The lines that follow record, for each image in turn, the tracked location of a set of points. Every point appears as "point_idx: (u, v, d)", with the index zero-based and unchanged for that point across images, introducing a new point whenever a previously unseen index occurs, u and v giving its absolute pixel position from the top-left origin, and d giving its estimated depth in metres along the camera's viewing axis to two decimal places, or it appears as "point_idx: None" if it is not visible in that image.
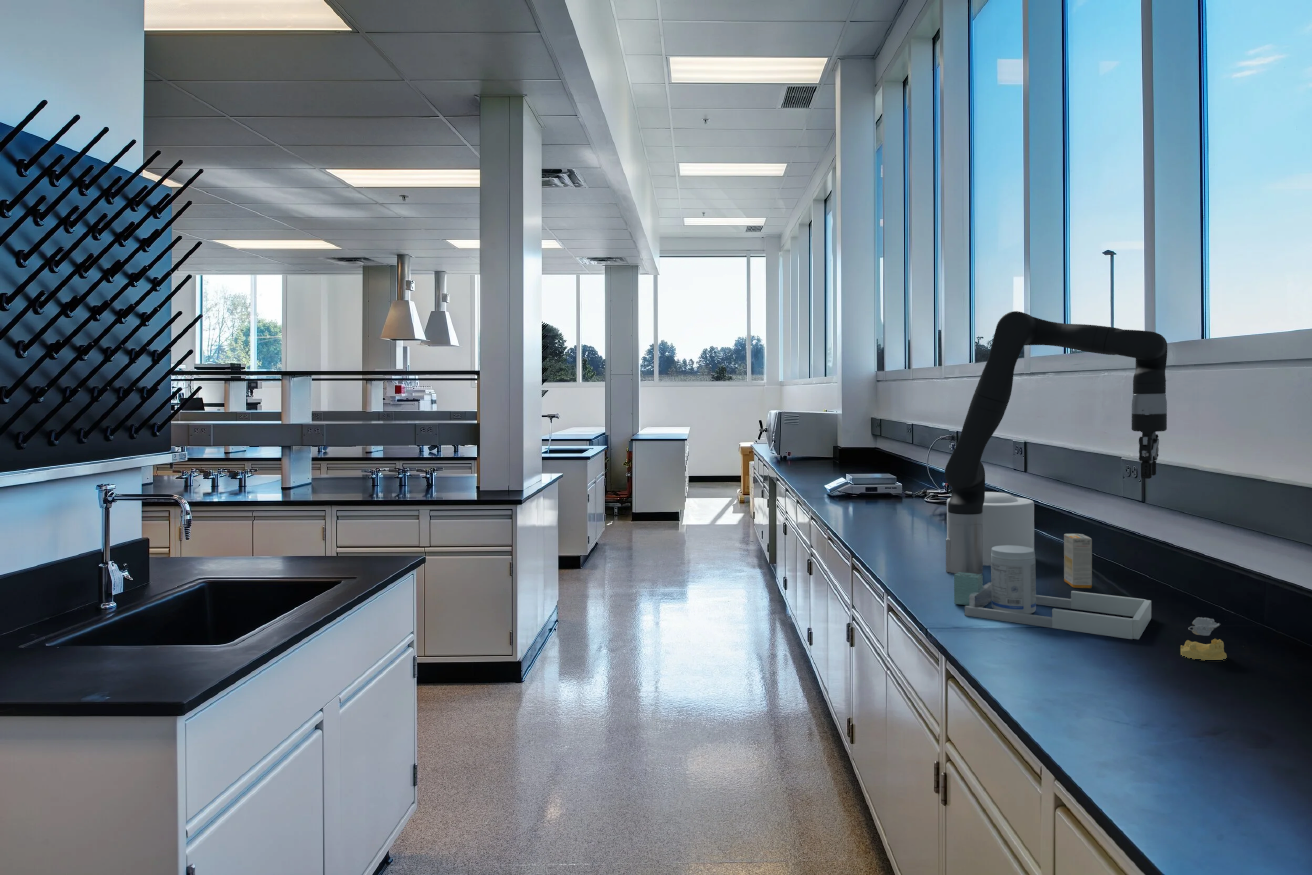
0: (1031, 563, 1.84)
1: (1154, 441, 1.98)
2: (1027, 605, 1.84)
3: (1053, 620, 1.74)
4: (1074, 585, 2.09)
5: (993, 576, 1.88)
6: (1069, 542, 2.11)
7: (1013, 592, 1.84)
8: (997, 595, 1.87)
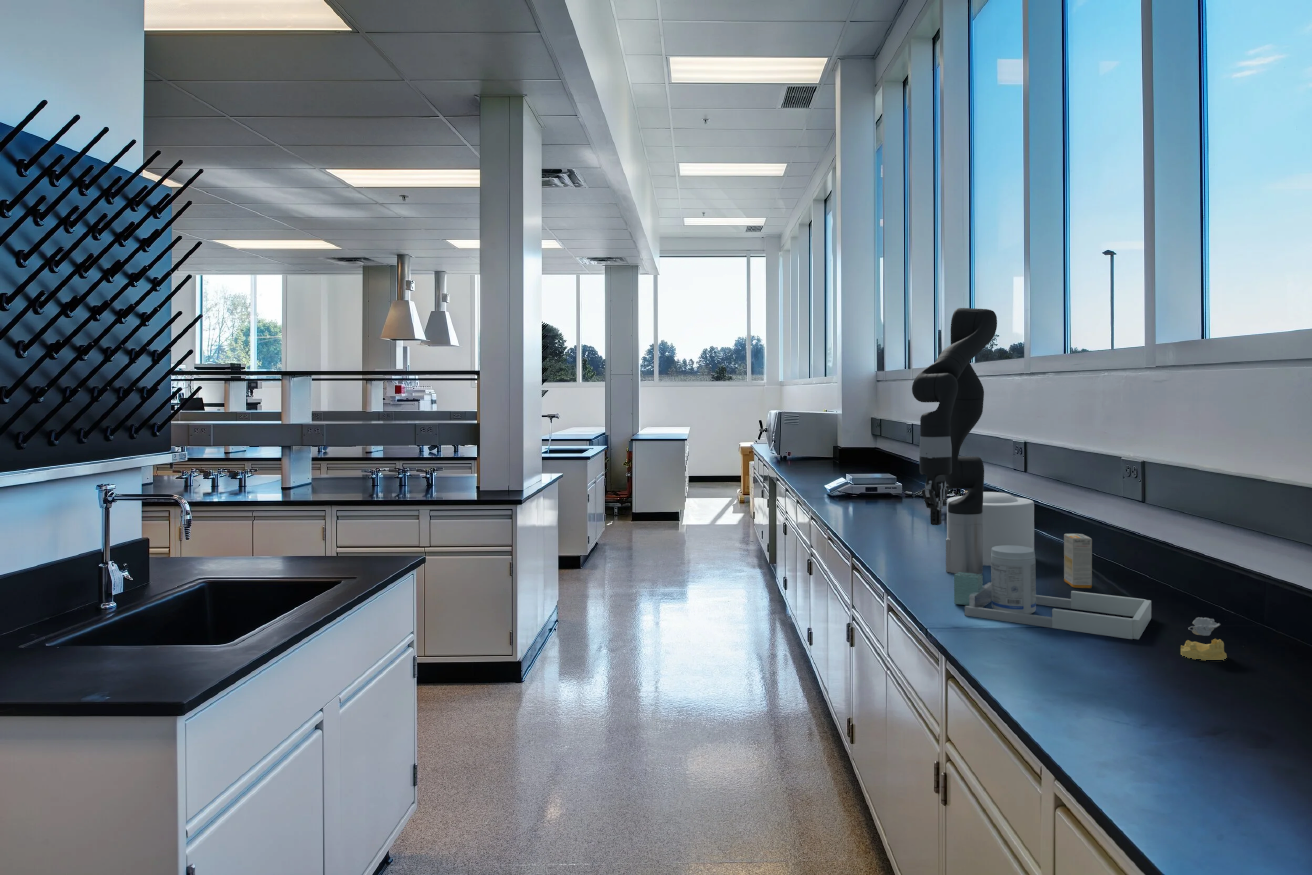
0: (1031, 563, 1.84)
1: (938, 487, 1.96)
2: (1027, 605, 1.84)
3: (1053, 620, 1.74)
4: (1074, 585, 2.09)
5: (993, 576, 1.88)
6: (1069, 542, 2.11)
7: (1013, 592, 1.84)
8: (997, 595, 1.87)
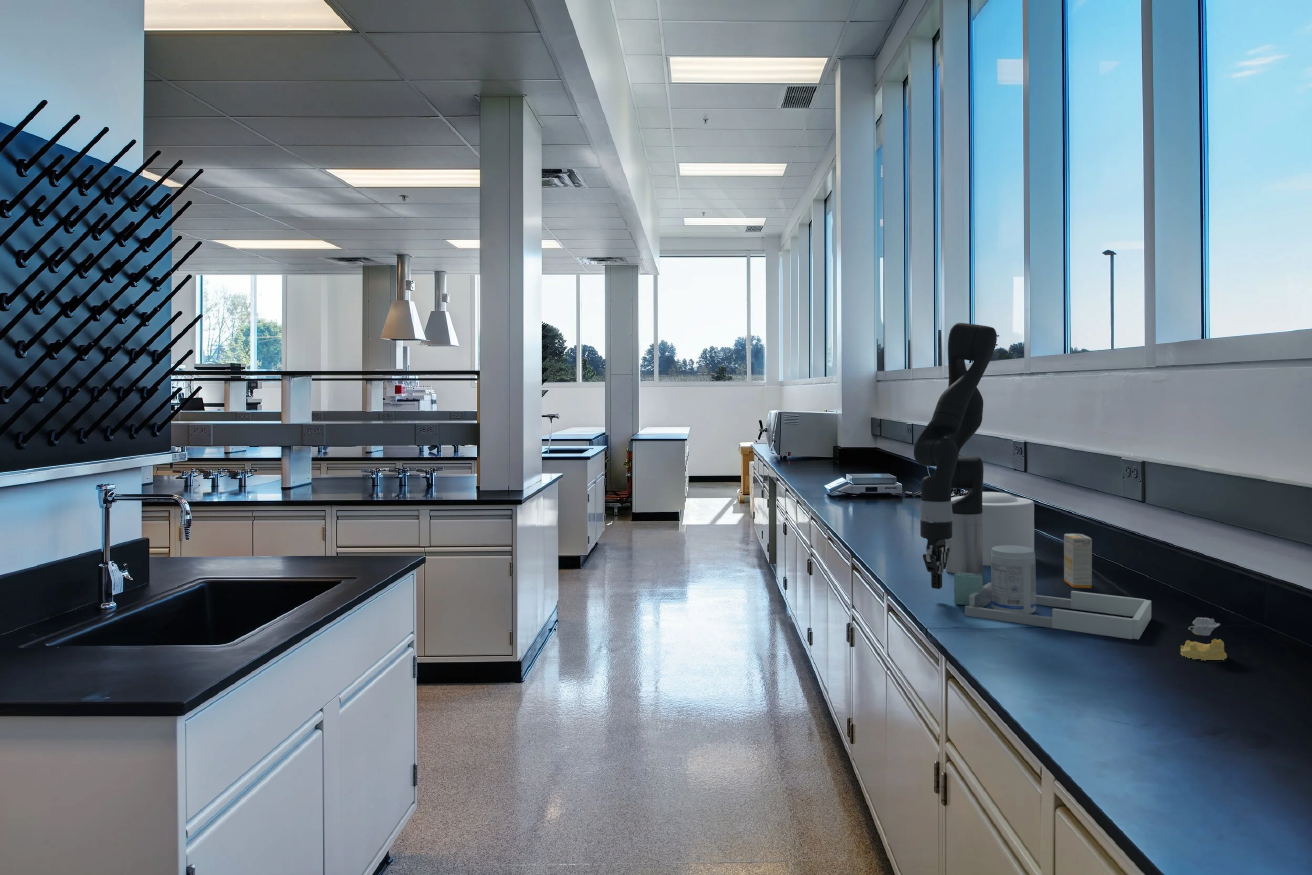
0: (1031, 563, 1.84)
1: (939, 551, 1.97)
2: (1027, 605, 1.84)
3: (1053, 620, 1.74)
4: (1074, 585, 2.09)
5: (993, 576, 1.88)
6: (1069, 542, 2.11)
7: (1013, 592, 1.84)
8: (997, 595, 1.87)
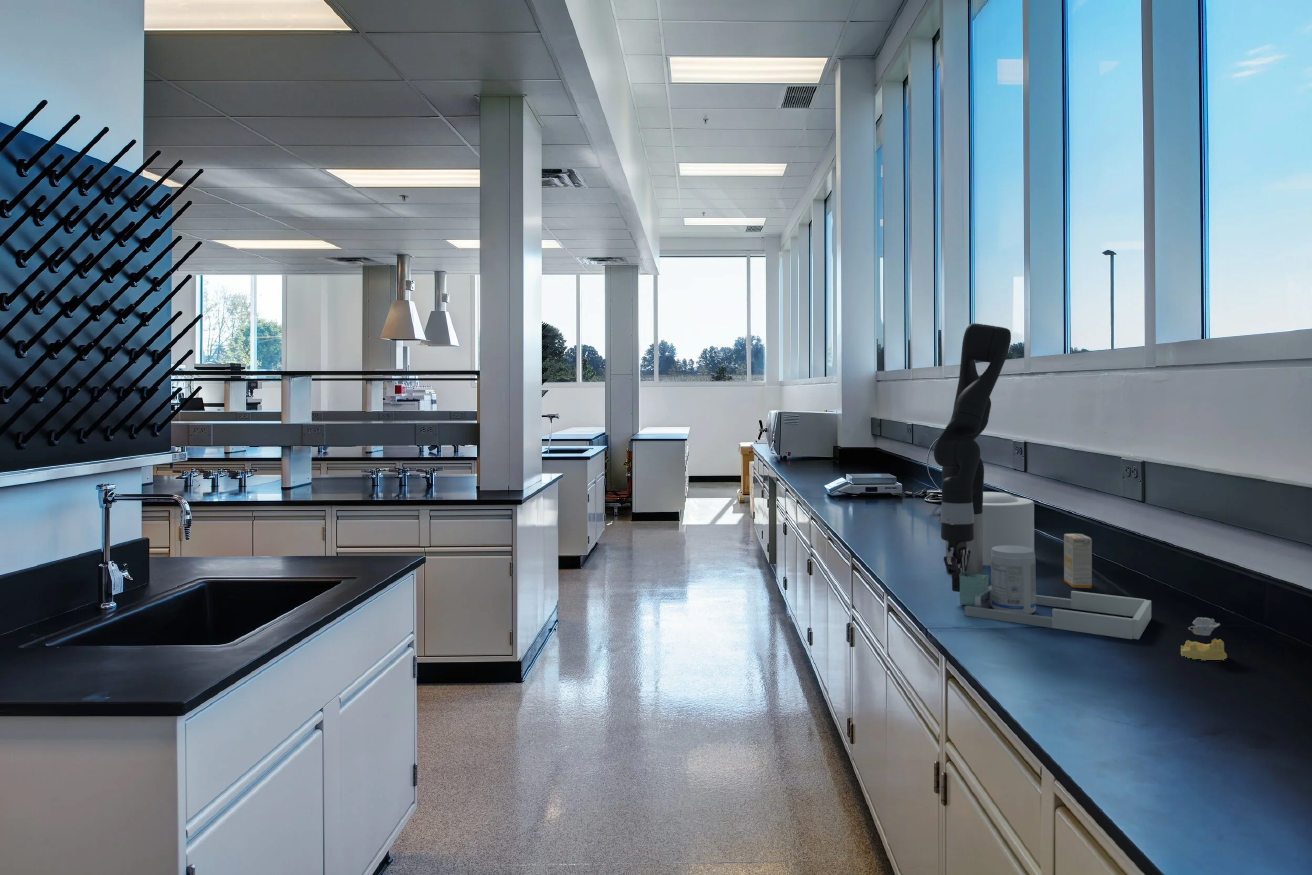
0: (1031, 563, 1.84)
1: (960, 553, 1.93)
2: (1027, 605, 1.84)
3: (1053, 620, 1.74)
4: (1074, 585, 2.09)
5: (993, 576, 1.88)
6: (1069, 542, 2.11)
7: (1013, 592, 1.84)
8: (997, 595, 1.87)
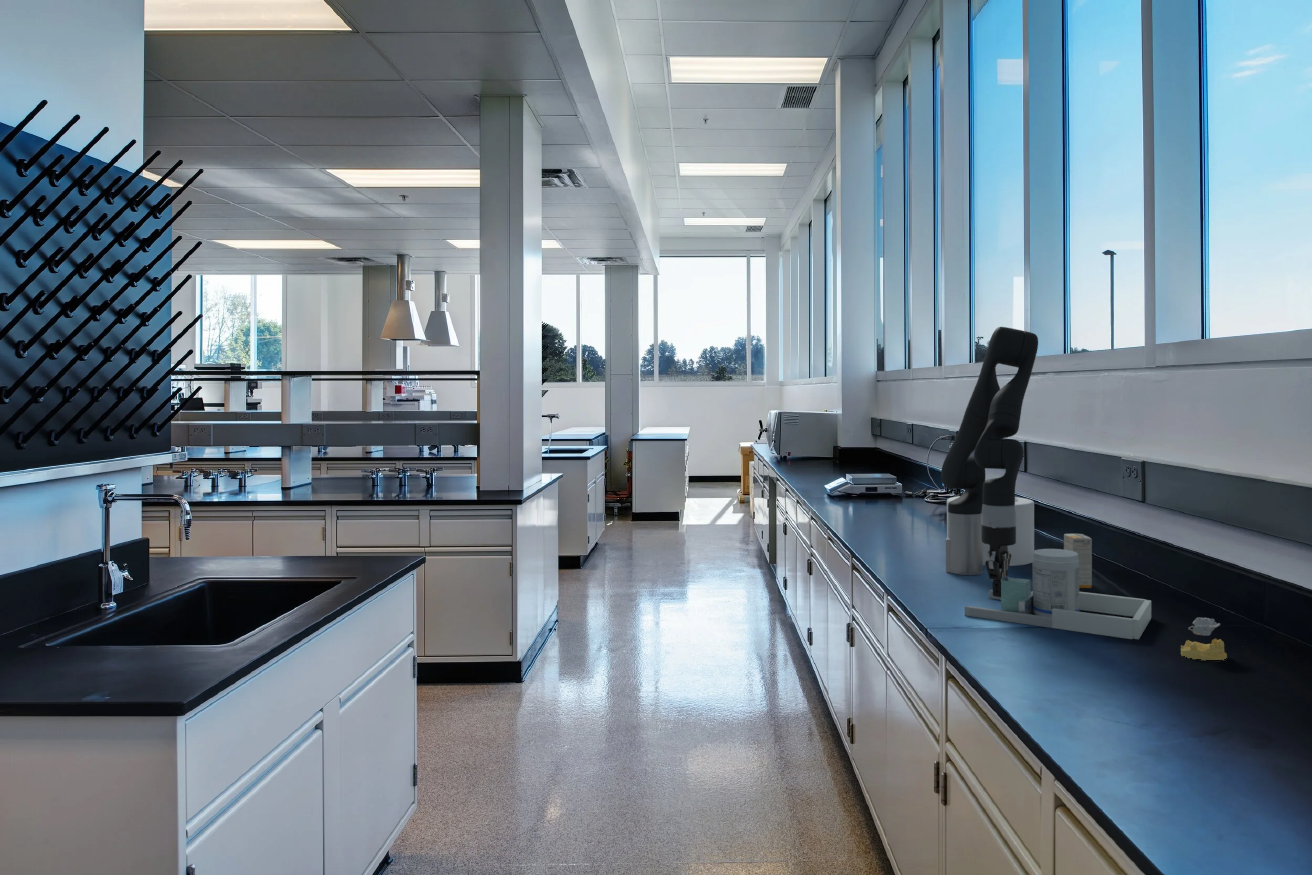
0: (1075, 567, 1.78)
1: (1002, 557, 1.87)
2: (1071, 610, 1.78)
3: (1053, 620, 1.74)
4: None
5: (1035, 581, 1.82)
6: (1069, 542, 2.11)
7: (1056, 597, 1.78)
8: (1040, 601, 1.81)
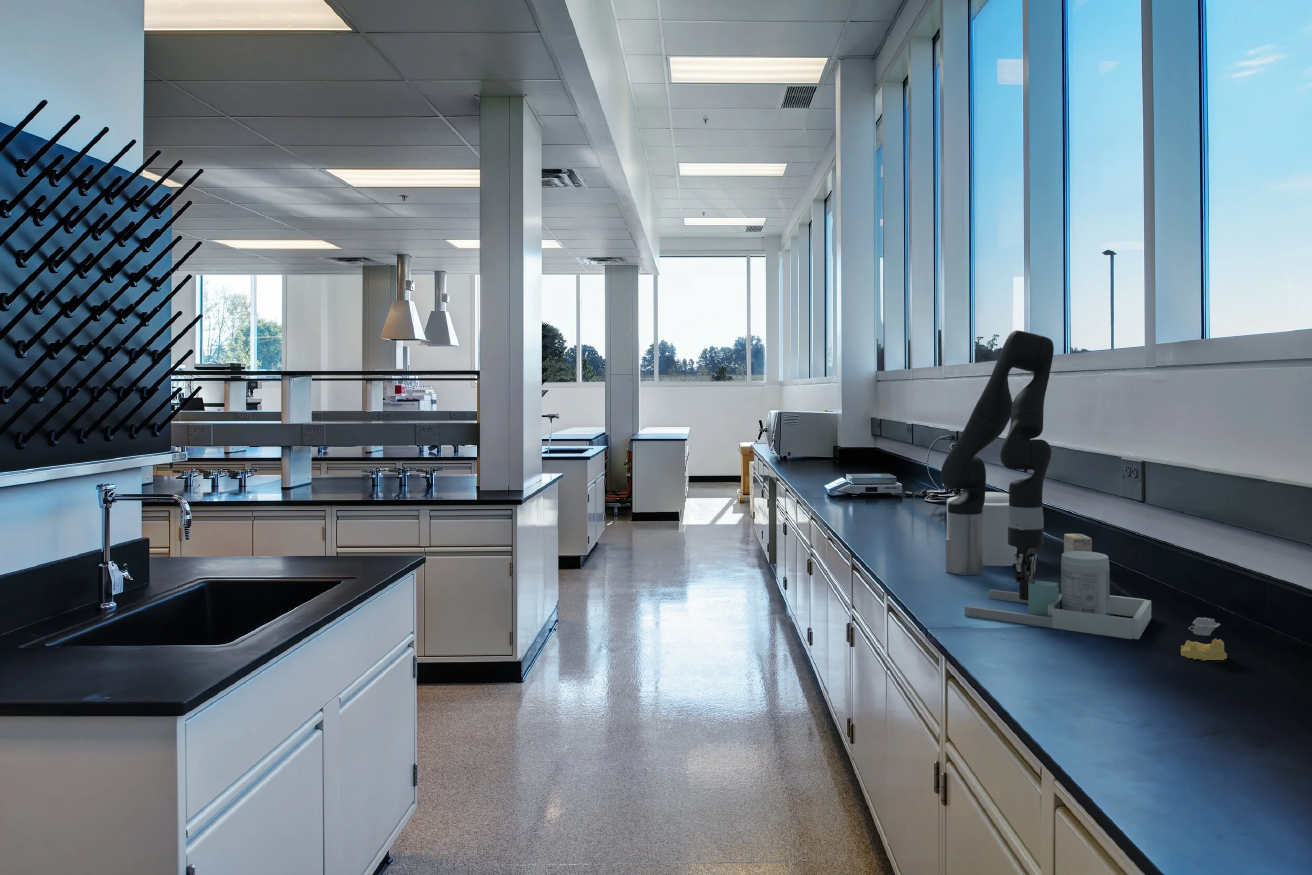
0: (1106, 570, 1.75)
1: (1029, 560, 1.84)
2: (1102, 614, 1.75)
3: (1053, 620, 1.74)
4: None
5: (1065, 584, 1.78)
6: (1069, 542, 2.11)
7: (1087, 601, 1.75)
8: (1070, 604, 1.77)
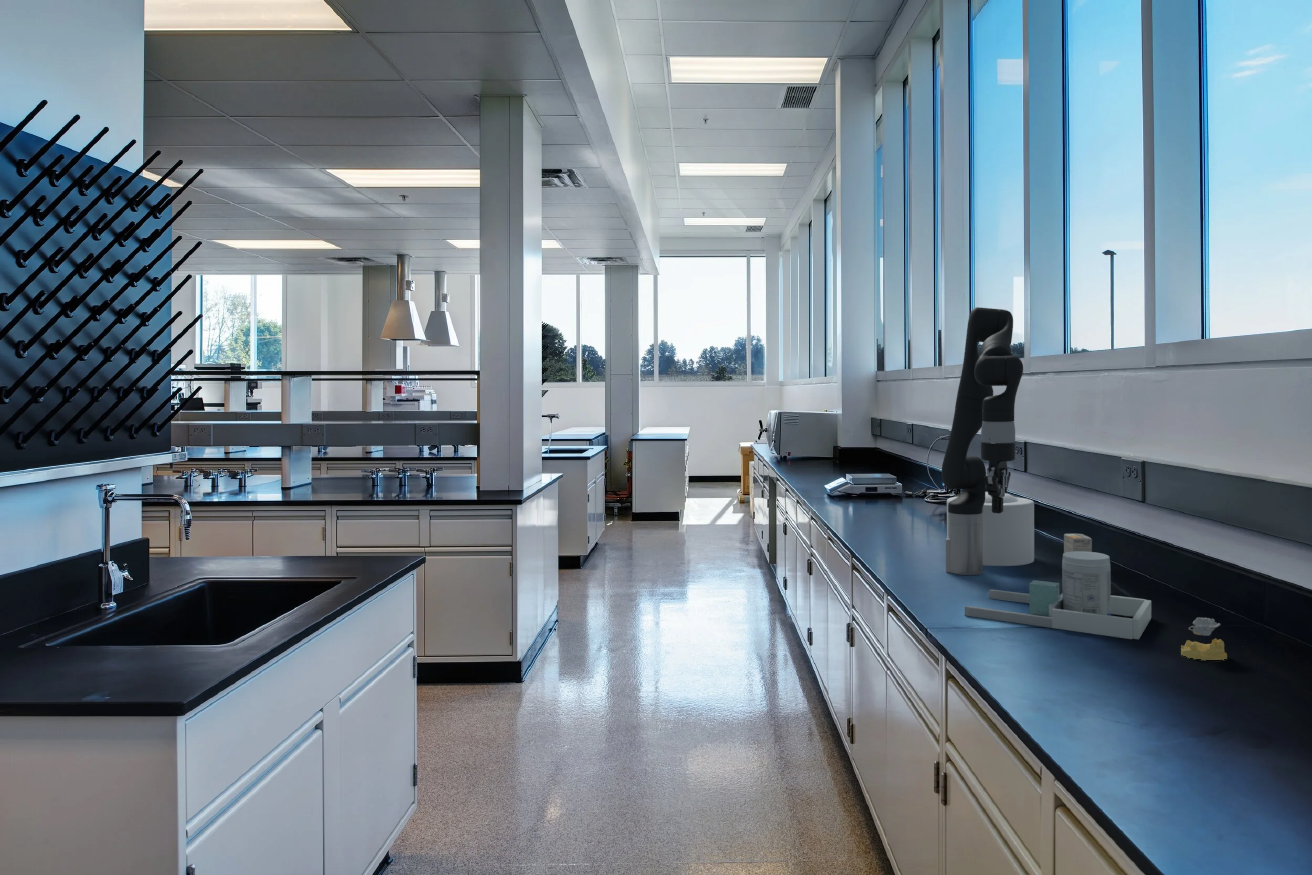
0: (1107, 570, 1.75)
1: (1001, 473, 1.89)
2: (1103, 614, 1.75)
3: (1053, 620, 1.74)
4: None
5: (1066, 584, 1.78)
6: (1069, 542, 2.11)
7: (1089, 601, 1.75)
8: (1071, 605, 1.77)
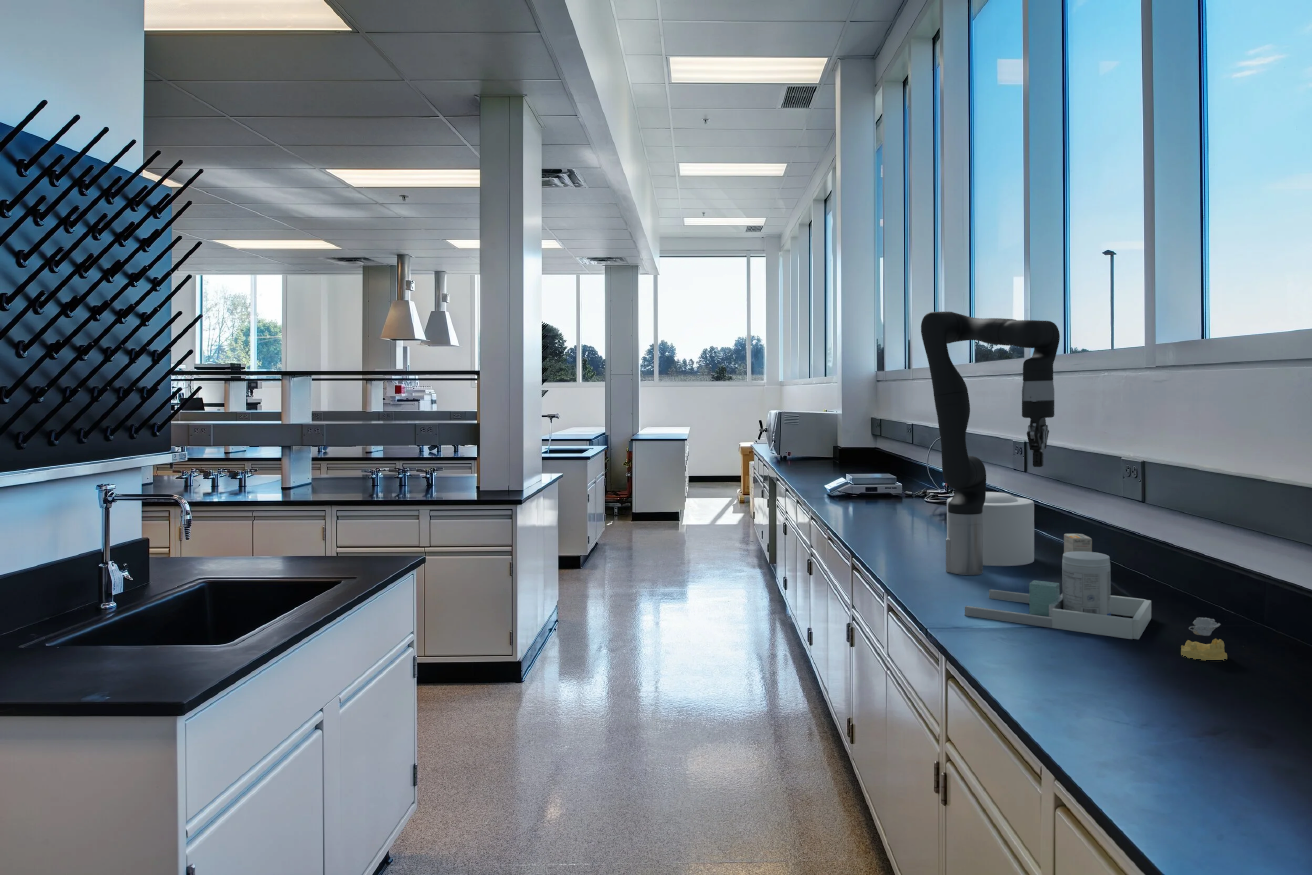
0: (1107, 570, 1.75)
1: (1042, 429, 2.03)
2: (1103, 614, 1.75)
3: (1053, 620, 1.74)
4: None
5: (1066, 584, 1.78)
6: (1069, 542, 2.11)
7: (1089, 601, 1.75)
8: (1071, 605, 1.77)
